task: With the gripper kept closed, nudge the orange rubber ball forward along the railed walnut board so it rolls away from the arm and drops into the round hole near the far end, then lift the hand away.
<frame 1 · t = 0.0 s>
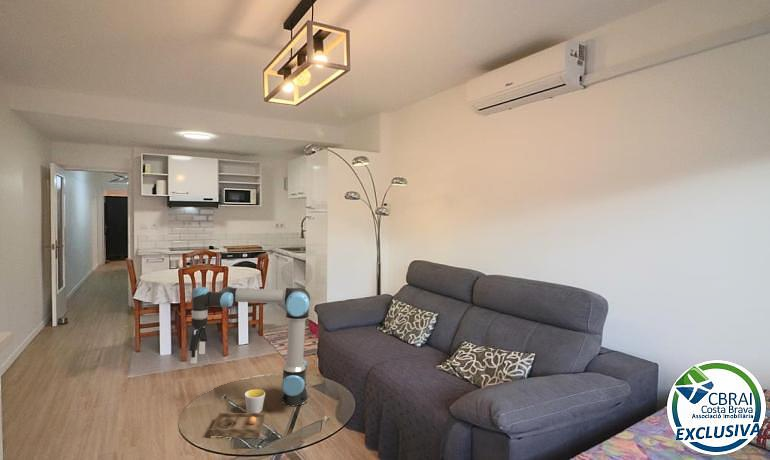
hand: (197, 358, 216), 28 cm above the table, fingers open, 13 cm apart
mug: (255, 411, 221), on the table
ball: (252, 420, 204), point 4 cm above the table, touching board
board: (238, 429, 203), on the table
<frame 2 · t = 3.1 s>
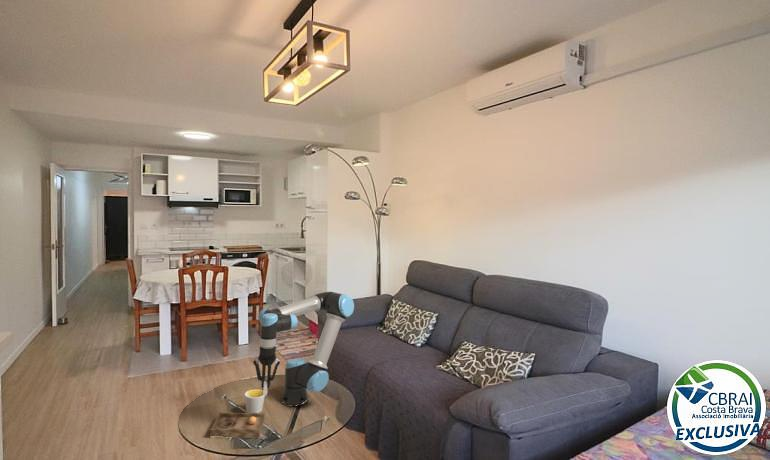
hand: (265, 394, 204), 17 cm above the table, fingers closed
nothing on the table moved.
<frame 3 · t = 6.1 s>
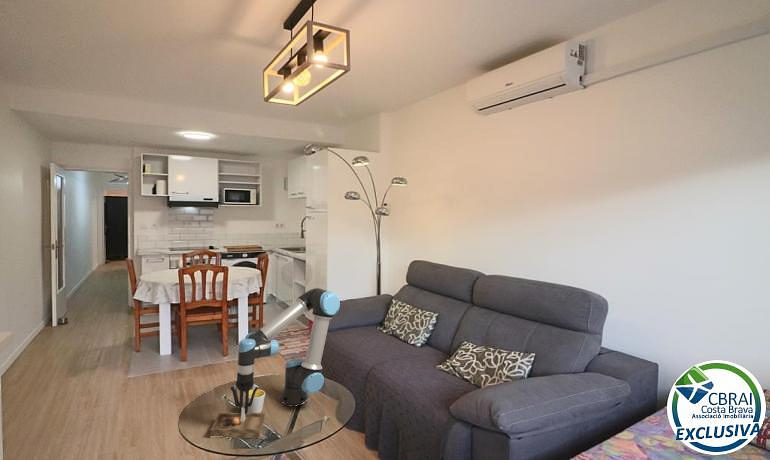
hand: (243, 420, 203), 5 cm above the table, fingers closed
ball: (236, 420, 202), point 4 cm above the table, tilted 117°, touching board
everything else where it was.
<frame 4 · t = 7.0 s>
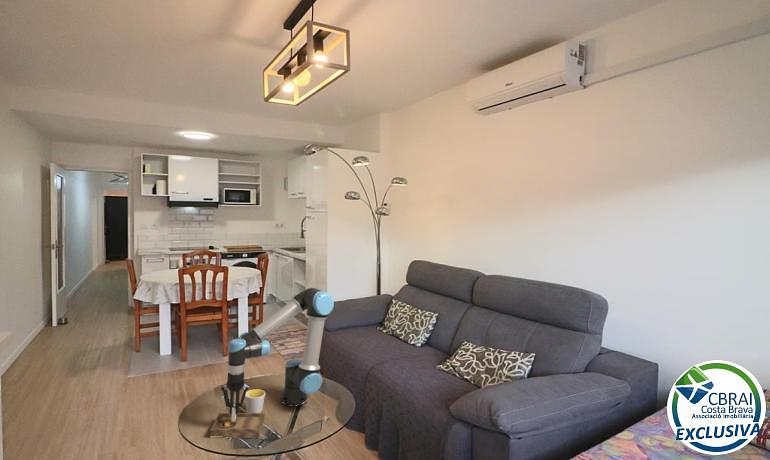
hand: (233, 420, 202), 4 cm above the table, fingers closed
ball: (227, 425, 202), point 2 cm above the table, tilted 51°
everything else where it was.
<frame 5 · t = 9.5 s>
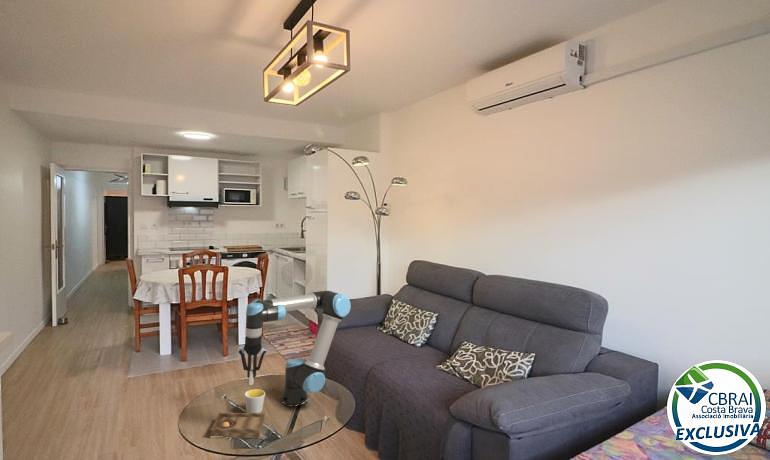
hand: (251, 383, 203), 22 cm above the table, fingers closed
ball: (225, 425, 202), point 2 cm above the table, tilted 71°
everything else where it was.
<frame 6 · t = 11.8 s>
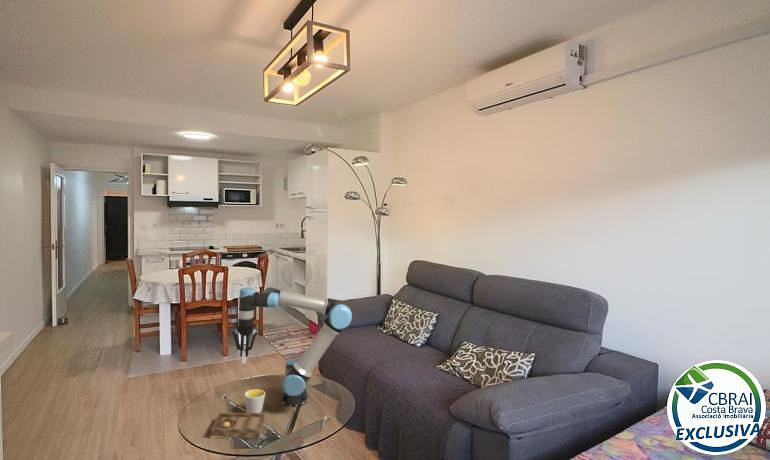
hand: (243, 362, 218), 26 cm above the table, fingers closed
ball: (226, 425, 202), point 2 cm above the table, tilted 64°
everything else where it was.
at the end: ball 0.1 cm from the target spot in the board, point 1.7 cm above the board's base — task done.
